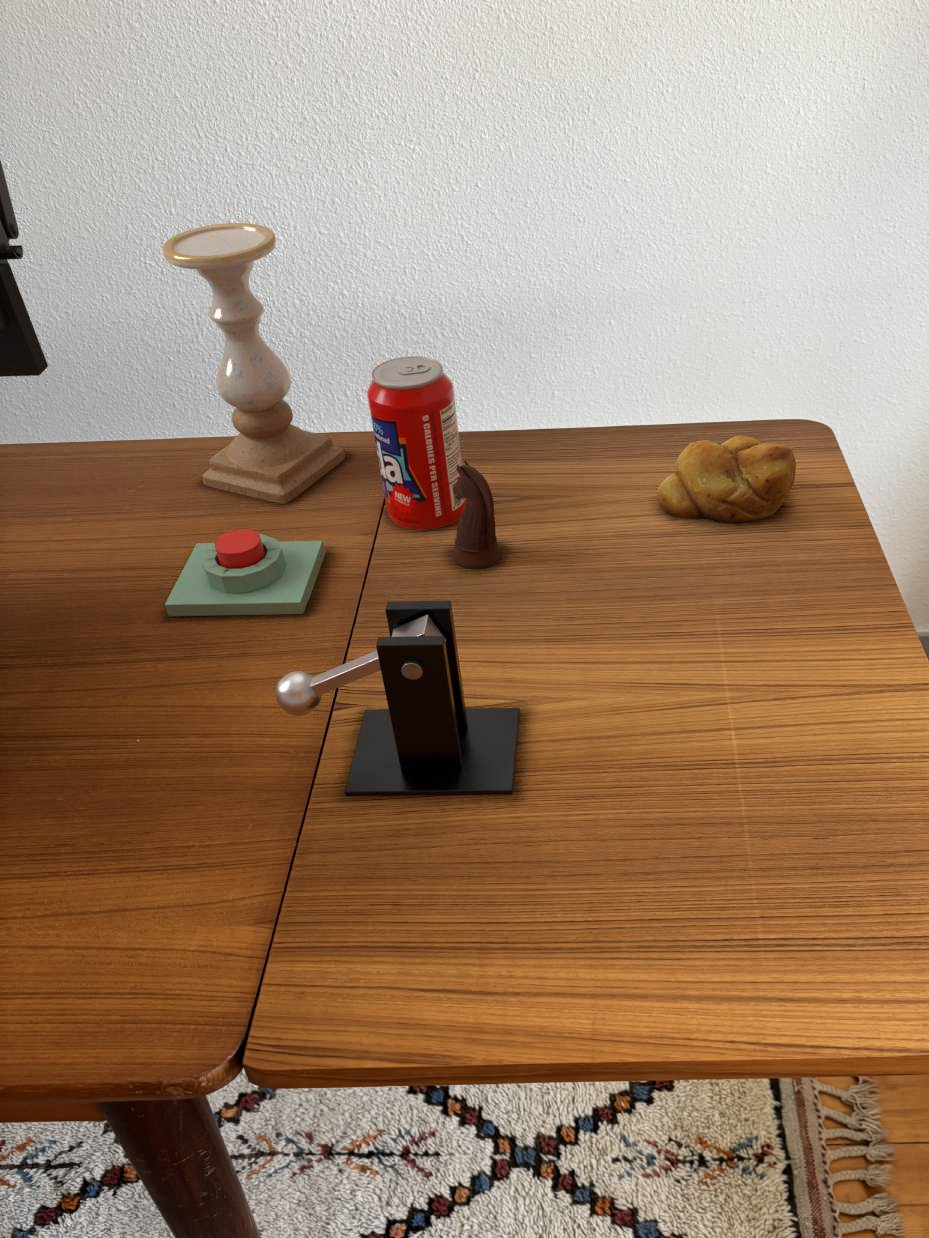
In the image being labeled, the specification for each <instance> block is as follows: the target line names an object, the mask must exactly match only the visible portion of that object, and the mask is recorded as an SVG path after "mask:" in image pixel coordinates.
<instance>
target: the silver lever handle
mask: <svg viewBox="0 0 929 1238" xmlns="http://www.w3.org/2000/svg"><path fill="white" fill-rule="evenodd" d="M406 636H443V635H442V633H441V632H440V631H439V629H438V628H437V626H436V625H435V624H434V622H433V621H432V620H431V618H430V617H429V615H425V616H423V617H420V618H418V619H416V620H413V621H411V622H409V623H406V624H404V625H402V626H399V627H397V628H395V629H393V633H392V637H406ZM445 643H446V639H445ZM379 672H381V668H380V663H379V658H378V654H377V649H376V650H374V651H372V652H369V653H367V654H364V655H362V656H360V657H357V658H355V659H353V660H350V661H348V662H345V663H343V664H341V665H338V666H336V667H334V668H331V669H329V670H326V671H323V672H322V673H319V674H316V675H313V674H311V673H309V672H306V671H302V670H293V671H290V672H288V673H285V674H284V675H283V676H282V677H281V678H280V679H279V680H278V682H277V684H276V687H275V692H274V694H275V699H276V703H277V705H278V706H279V708H280V709H281V710H282V711H283V712H285V713H286V714H288V715H291V716H294V717H303V716H304V717H305V716H307V715H309V714H312V713H313V712H314V711H316V710H317V708H318V707H319V705H320V704H321V701H322V698H323V695H324V694H328V693H329V692H331V691H334V690H336V689H338V688H339V689H340V688H342V687H344V686H346V685H349V684H351V683H353V682H356V681H358V680H361V679H363V678H366V677H368V676H370V675H373V674H376V673H379Z"/></svg>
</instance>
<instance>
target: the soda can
mask: <svg viewBox="0 0 929 1238" xmlns="http://www.w3.org/2000/svg"><path fill="white" fill-rule="evenodd" d="M444 371H445V370H444V365H443V363H441V362H440V361H438V359H437V360H436V359H434V358H432V357H427V356H419V355H417V356H416V355H415V356H414V355H413V356H411V355H410V356H409V355H408V356H402V357H401V356H400V357H396V358H392V359H389V360H386V361H383V362H381V363H380V364H378V365H376V366H375V367H374V368H373V369H372V372H371V379H372V380H371V382H370V383H369V386H368V388H367V392H366V394H367V395H366V396H367V403H368V407H369V414H370V420H371V425H372V431H373V437H374V443H375V447H376V453H377V454H376V455H377V458H378V465H379V471H380V476H381V477H380V478H381V481H382V488H383V494H384V500H385V505H386V510H387V514H388V517H389V519H390V521H392V522H393V523H394V524H395V525H397V526H399V527H402V528H405V529H408V530H415V531H425V530H427V531H428V530H435V529H439V528H443V527H446V526H449V525H451V524H453V523H456V522H457V521H459V520H460V518H461V515H462V513H463V511H464V509H465V507H466V505H467V504H468V501H467V498H461V499H459V500H457V498H456V497H455V496H456V495H457V494H456V495H454V493H453V488H454V487H455V485H456V483H457V481H458V480H457V479H458V478H459V477H461V476H460V475H459V473H458V471H457V470H456V468H457V466H456V465H459V466H462V465H463V459H462V450H461V442H460V434H459V433H460V432H459V425H458V416H457V407H456V398H455V391H454V384H453V381H452V379H451V378H450V377H449V376H448V375H447V374H446V373H445V372H444Z"/></svg>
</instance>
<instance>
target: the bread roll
mask: <svg viewBox="0 0 929 1238" xmlns="http://www.w3.org/2000/svg"><path fill="white" fill-rule="evenodd" d="M796 468H797V461H796V458H795V454H794V451H793V449H792V448H791V447H790V446H788V445H785V444H782V443H773V442H763V441H761V440H759V439H756V438H753V437H750V436H745V435H743V434H739V435H735V436H733V437H731V438H730V439H727V440H726V441H724V442H722V443H721V444H719V443H717V442H714V441H712V440H709V439H705V440H703V439H701V440H697V441H693V442H690V443H689V444H688V445H687V446H686V447H685V448H684V449H683V450H682V451H681V453H680V454H679V455H678V457H677V459H676V464H675V470H676V471H675V472H674V473H671V474H670V475H669V476H667V477H665V478H664V479H663V480H662V481H661V483H660V484H659V486H658V488H657V491H656V497H657V501H658V504H659V506H660V508H661V509H662V510H663V511H664V512H665V513H667V514H669V515H672V516H675V517H678V518H682V519H699V518H707V519H711V520H713V521H717V522H720V523H746V522H755V521H761V520H764V519H767V518H769V517H771V516H773V515H774V514H775V513H776V512H778V510H779V509H780V508H781V507H782V506H783V502H784V501H785V500H786V496H787V495H788V494H789V492H790V491H791V489H792V487H793V486H794V483H795V480H796V472H797V471H796V470H797V469H796Z"/></svg>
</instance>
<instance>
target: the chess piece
mask: <svg viewBox="0 0 929 1238" xmlns="http://www.w3.org/2000/svg"><path fill="white" fill-rule="evenodd" d="M456 466H457V468H456V470H457V471H458V473H459V475H460V476H461V477H459V478H458V479H457V480H458V481H457V483H456V485H455V487H454V488H453V493H454V495H456V494H457V495H456V496H455V497H456V498H457V500H459V499H461V498H466V499H467V498H468V501H467V505H466V507H465V509H464V511H463V513H462V515H461V517H460V518H459V520H458V524H457V528H456V533H455V534H456V535H455V539H454V545H455V546H454V548H453V551H452V552H453V553H452V555H453V556H452V557H453V560H454V562H455V564H457V565H458V566H459V567H461V568H464V569H469V570H480V569H487V568H489V567H491V566H494V565H495V564H497V562H499V561H500V559H501V557H502V548H501V546H500V544H499V543H498V538H497V535H496V521H495V520H496V518H495V504H494V503H495V502H494V497H493V493H492V490H491V487H490V484H489V483H488V481H487V480H486V478H485V477H484V475H483V474H482V473H481V472H480V471H479V470H478V469H476V468H475V467H474V466H472V465H470V464H469V462H467V460H464V461H463V464H462V466H459V465H456Z"/></svg>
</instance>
